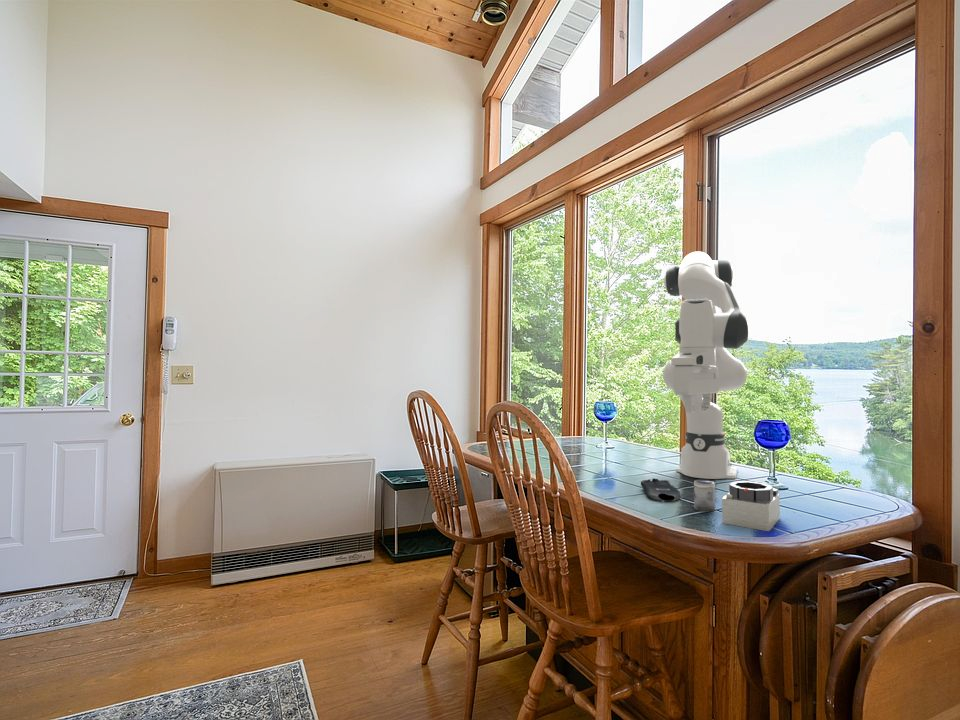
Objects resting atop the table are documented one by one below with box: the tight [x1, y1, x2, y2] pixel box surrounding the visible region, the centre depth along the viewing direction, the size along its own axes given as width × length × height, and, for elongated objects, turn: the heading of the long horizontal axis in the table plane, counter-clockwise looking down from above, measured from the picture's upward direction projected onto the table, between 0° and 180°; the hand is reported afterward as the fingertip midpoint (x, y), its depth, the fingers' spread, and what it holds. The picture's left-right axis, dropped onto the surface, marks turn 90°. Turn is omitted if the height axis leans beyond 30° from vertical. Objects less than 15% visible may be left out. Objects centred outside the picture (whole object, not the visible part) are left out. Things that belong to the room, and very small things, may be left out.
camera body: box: [721, 480, 781, 532], centre depth 129 cm, size 13×10×9 cm
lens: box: [693, 479, 716, 513], centre depth 140 cm, size 5×5×7 cm
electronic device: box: [640, 478, 682, 503], centre depth 154 cm, size 9×6×15 cm
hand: (697, 411), depth 141 cm, fingers open, 8 cm apart
